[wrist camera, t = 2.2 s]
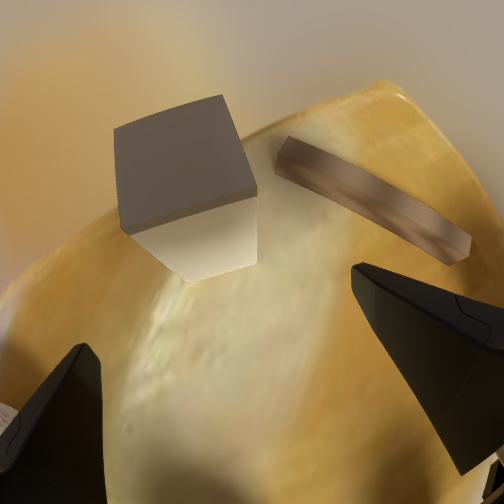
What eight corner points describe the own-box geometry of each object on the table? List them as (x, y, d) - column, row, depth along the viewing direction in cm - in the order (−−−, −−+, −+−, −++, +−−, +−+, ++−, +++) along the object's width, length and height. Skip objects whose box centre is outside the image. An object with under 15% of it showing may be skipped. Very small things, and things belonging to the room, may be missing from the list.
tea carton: (256, 263, 22) (257, 186, 11) (188, 284, 22) (121, 229, 10) (236, 199, 24) (221, 91, 12) (172, 218, 23) (113, 126, 12)
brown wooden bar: (453, 242, 22) (472, 231, 19) (448, 265, 22) (468, 256, 19) (287, 153, 25) (291, 131, 22) (275, 174, 24) (278, 152, 21)
